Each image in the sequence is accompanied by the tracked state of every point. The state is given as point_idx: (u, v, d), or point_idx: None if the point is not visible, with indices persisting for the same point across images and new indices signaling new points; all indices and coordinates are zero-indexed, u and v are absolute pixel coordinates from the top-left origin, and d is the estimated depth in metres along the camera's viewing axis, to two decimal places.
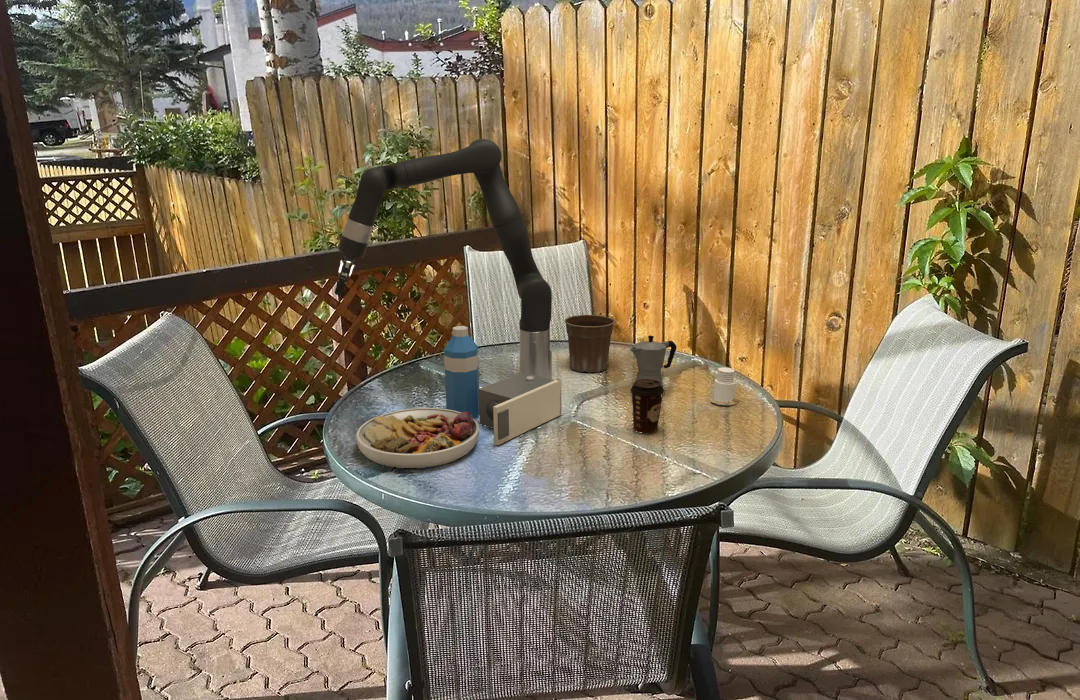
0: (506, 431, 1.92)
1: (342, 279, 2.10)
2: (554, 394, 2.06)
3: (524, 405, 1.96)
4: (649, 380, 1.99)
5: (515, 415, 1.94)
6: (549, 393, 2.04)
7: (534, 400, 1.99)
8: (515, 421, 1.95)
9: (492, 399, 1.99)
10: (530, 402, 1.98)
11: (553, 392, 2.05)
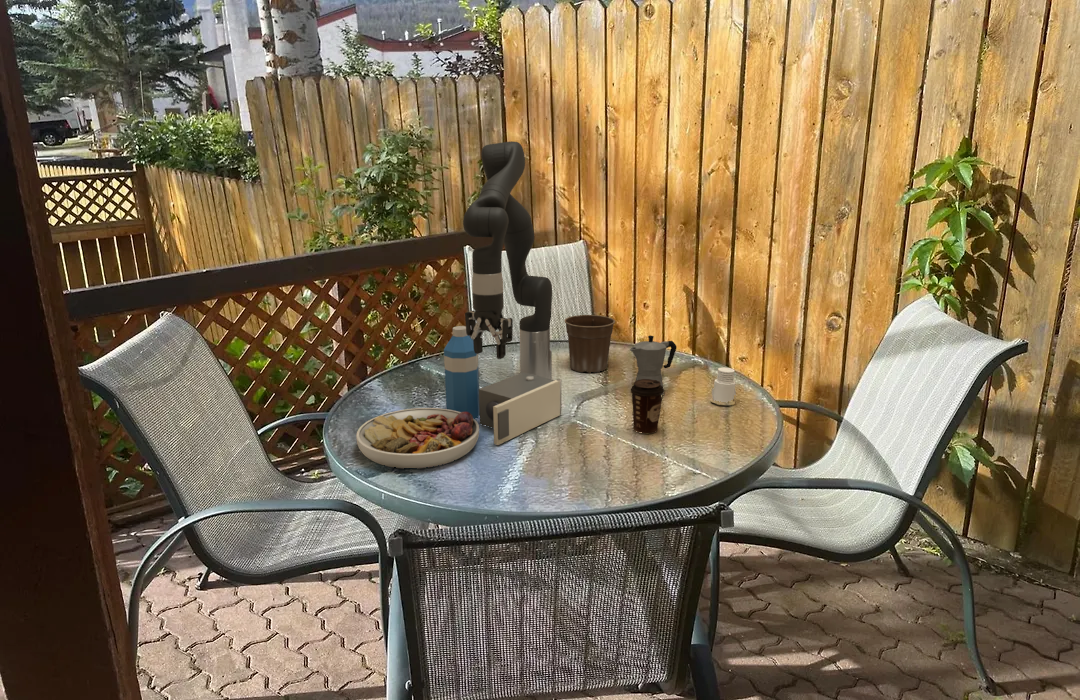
0: (506, 431, 1.92)
1: (508, 340, 1.85)
2: (554, 394, 2.06)
3: (524, 405, 1.96)
4: (649, 380, 1.99)
5: (515, 415, 1.94)
6: (549, 393, 2.04)
7: (534, 400, 1.99)
8: (515, 421, 1.95)
9: (492, 399, 1.99)
10: (530, 402, 1.98)
11: (553, 392, 2.05)
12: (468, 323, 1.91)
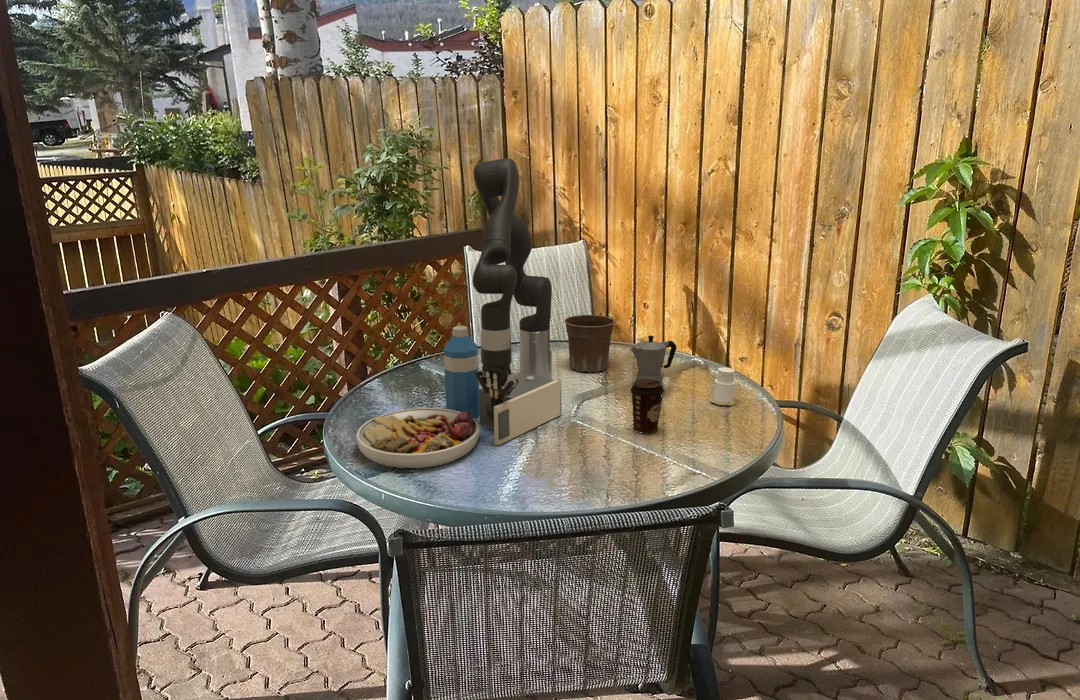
0: (507, 431, 1.92)
1: (506, 394, 1.90)
2: (554, 394, 2.06)
3: (524, 405, 1.96)
4: (649, 380, 1.99)
5: (515, 415, 1.94)
6: (549, 393, 2.04)
7: (534, 400, 1.99)
8: (515, 421, 1.94)
9: None
10: (530, 402, 1.98)
11: (553, 392, 2.05)
12: (482, 381, 1.93)
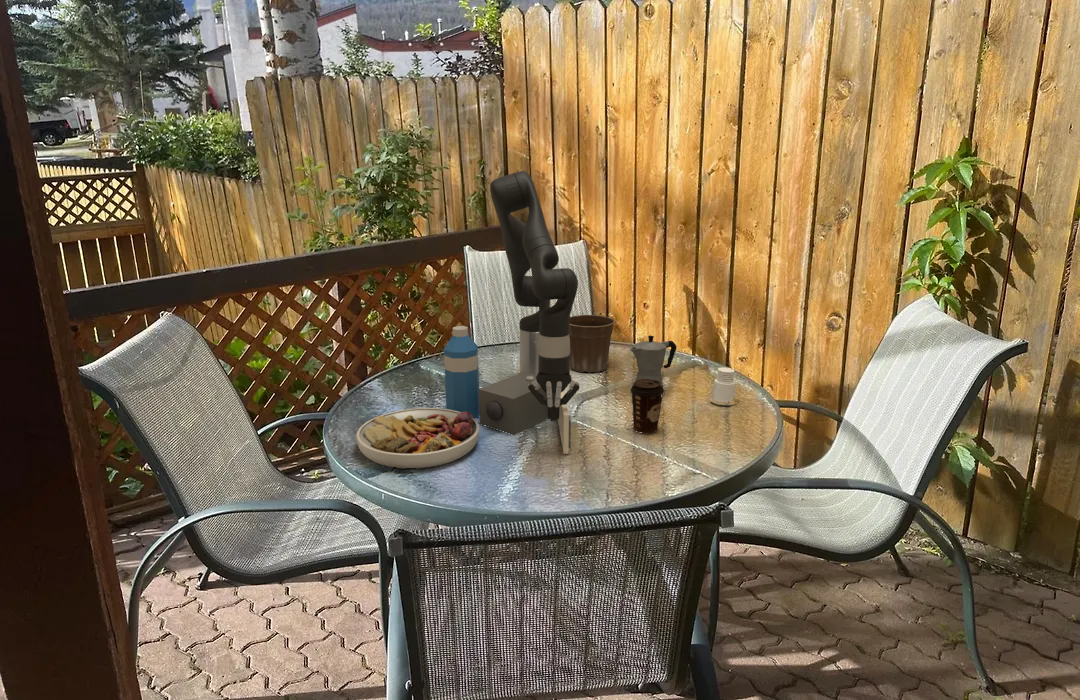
0: None
1: None
2: None
3: None
4: (649, 380, 1.99)
5: None
6: None
7: None
8: None
9: (492, 399, 1.99)
10: None
11: None
12: (537, 393, 1.84)
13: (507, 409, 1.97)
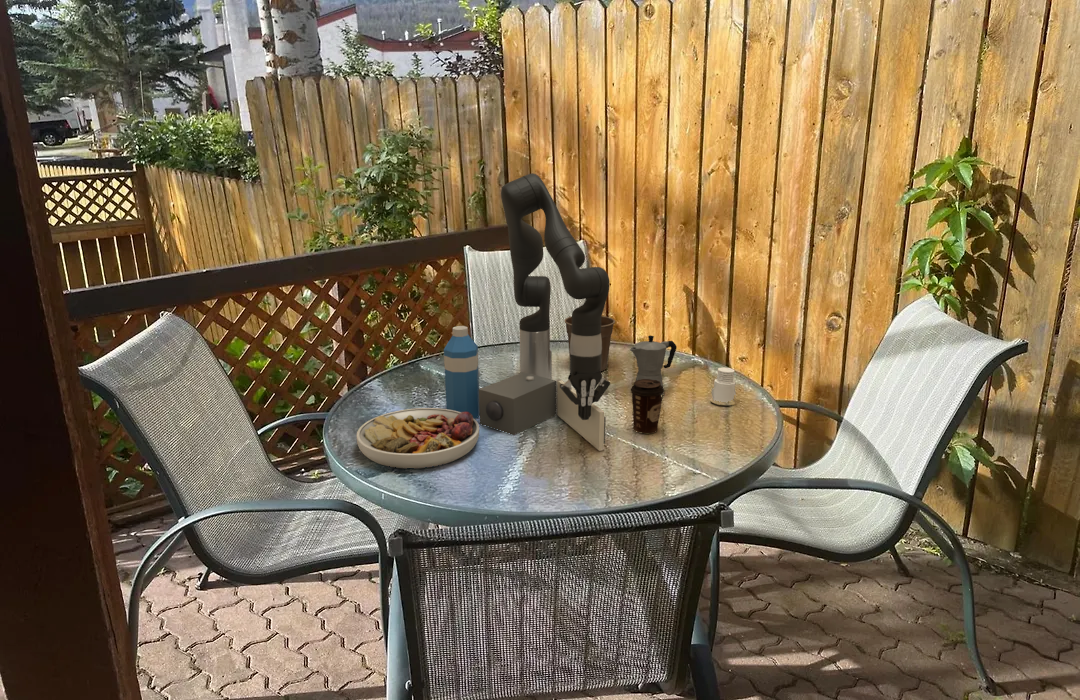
0: None
1: None
2: None
3: None
4: (649, 380, 1.99)
5: None
6: None
7: None
8: None
9: (492, 399, 1.99)
10: None
11: None
12: (572, 394, 1.83)
13: (507, 409, 1.97)
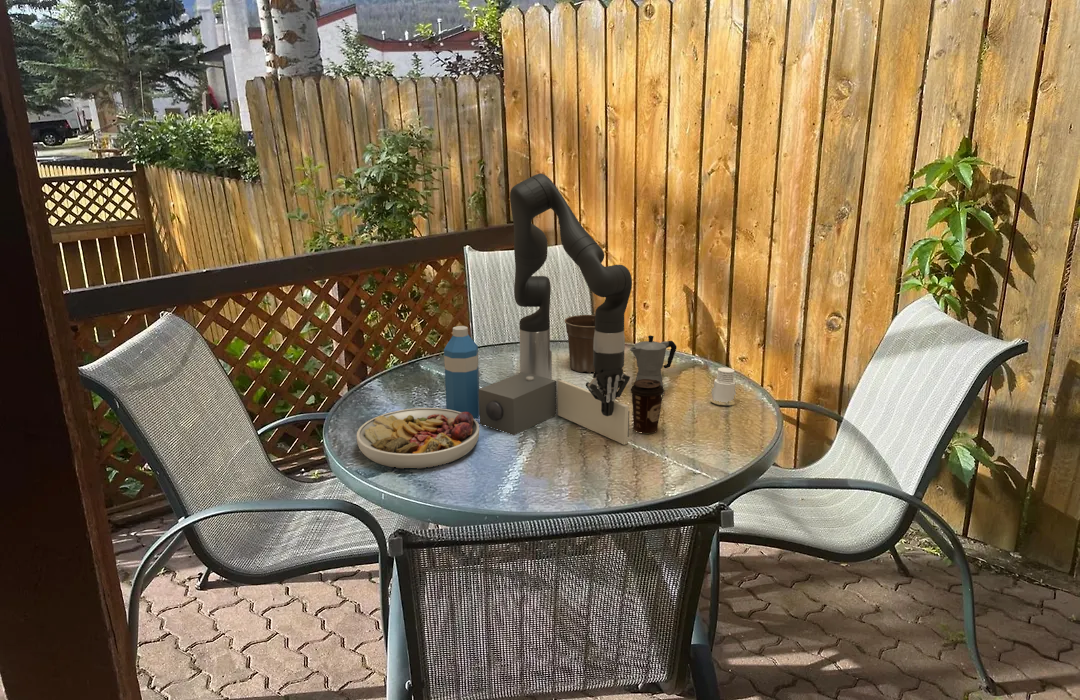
0: None
1: None
2: None
3: None
4: (649, 380, 1.99)
5: None
6: None
7: None
8: None
9: (492, 399, 1.99)
10: None
11: None
12: (598, 391, 1.85)
13: (507, 409, 1.97)
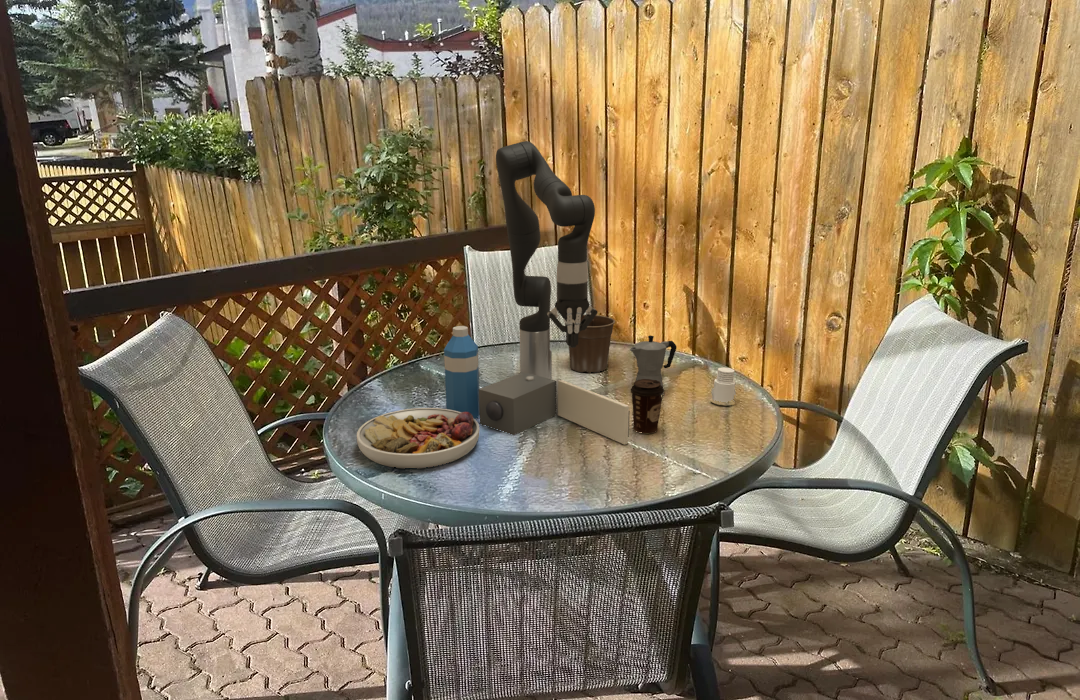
0: None
1: None
2: None
3: None
4: (649, 380, 1.99)
5: None
6: None
7: None
8: None
9: (492, 399, 1.99)
10: None
11: None
12: (558, 321, 1.87)
13: (507, 409, 1.97)
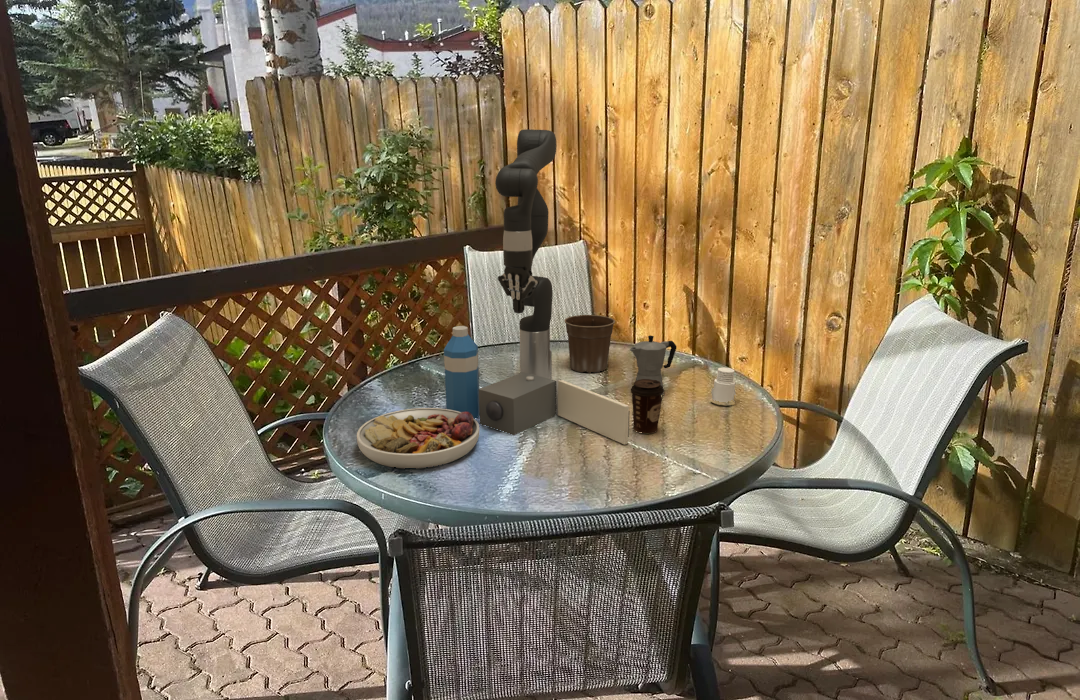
0: None
1: (527, 295, 2.00)
2: None
3: None
4: (649, 380, 1.99)
5: None
6: None
7: None
8: None
9: (492, 399, 1.99)
10: None
11: None
12: (504, 284, 2.02)
13: (507, 409, 1.97)
